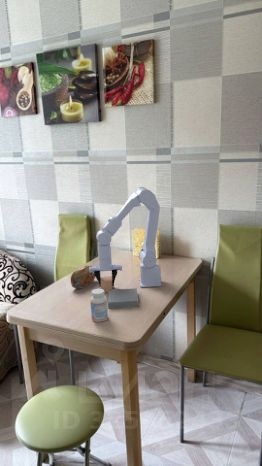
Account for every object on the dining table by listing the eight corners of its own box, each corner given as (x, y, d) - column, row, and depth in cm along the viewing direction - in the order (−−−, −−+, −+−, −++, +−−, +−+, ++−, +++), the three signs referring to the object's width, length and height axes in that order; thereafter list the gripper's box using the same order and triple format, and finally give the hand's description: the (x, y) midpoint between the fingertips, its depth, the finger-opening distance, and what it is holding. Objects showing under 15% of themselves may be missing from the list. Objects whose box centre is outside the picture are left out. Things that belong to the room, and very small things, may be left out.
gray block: (136, 294, 153) (136, 288, 153) (138, 307, 142) (138, 300, 141) (109, 296, 153) (108, 290, 152) (108, 309, 142) (107, 302, 141)
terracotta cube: (112, 286, 162) (112, 276, 161) (112, 290, 157) (111, 280, 156) (101, 286, 162) (101, 276, 161) (101, 291, 157) (100, 281, 156)
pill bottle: (92, 315, 136) (89, 288, 133) (107, 314, 137) (105, 287, 134) (91, 323, 131) (89, 295, 128) (108, 321, 131) (106, 293, 128)
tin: (75, 291, 158) (73, 274, 156) (70, 290, 160) (68, 273, 158) (96, 280, 171) (95, 263, 168) (91, 279, 172) (90, 262, 170)
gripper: (121, 253, 160) (122, 281, 163) (89, 255, 160) (91, 283, 163) (121, 258, 153) (123, 287, 157) (87, 260, 153) (90, 289, 156)
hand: (106, 285), depth 159 cm, fingers closed on terracotta cube, 5 cm apart
